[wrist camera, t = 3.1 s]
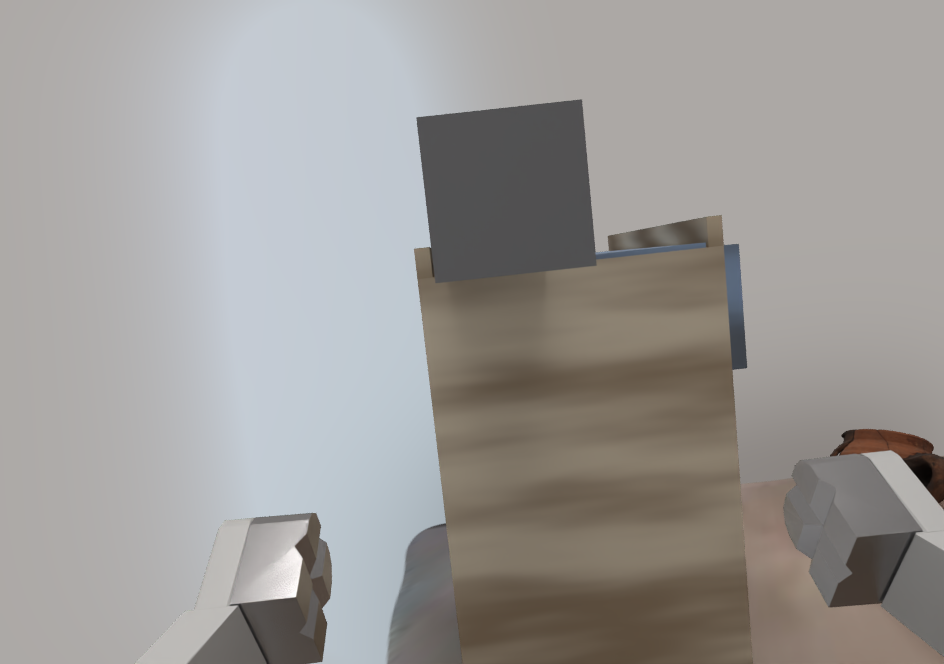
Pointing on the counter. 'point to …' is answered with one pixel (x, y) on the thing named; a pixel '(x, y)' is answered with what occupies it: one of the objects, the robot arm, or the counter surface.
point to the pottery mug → (916, 452)
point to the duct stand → (594, 453)
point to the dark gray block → (507, 191)
